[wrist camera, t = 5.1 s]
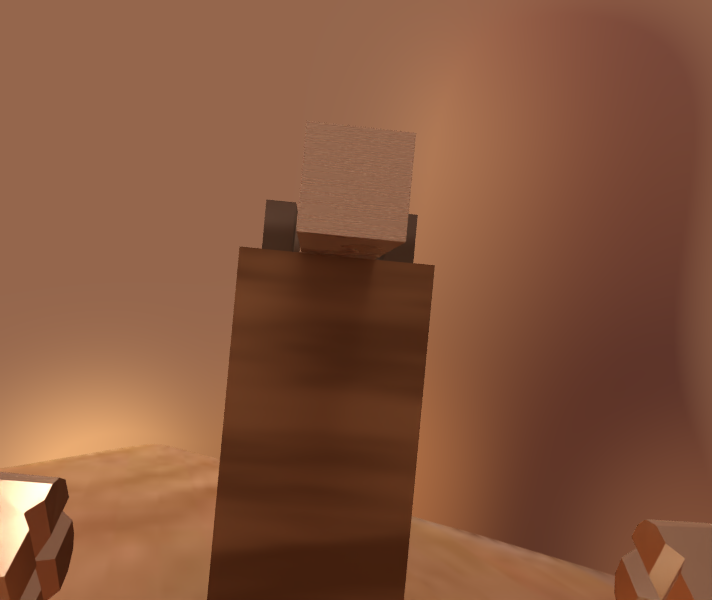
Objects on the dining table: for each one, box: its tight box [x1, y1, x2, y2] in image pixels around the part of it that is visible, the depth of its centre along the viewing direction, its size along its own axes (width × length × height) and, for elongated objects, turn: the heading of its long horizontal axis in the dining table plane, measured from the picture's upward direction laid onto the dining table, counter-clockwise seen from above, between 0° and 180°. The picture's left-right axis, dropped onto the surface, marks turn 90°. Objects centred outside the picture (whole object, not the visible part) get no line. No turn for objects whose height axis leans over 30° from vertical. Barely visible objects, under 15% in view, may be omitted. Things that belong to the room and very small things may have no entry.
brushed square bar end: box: [297, 121, 416, 260], centre depth 31 cm, size 26×3×3 cm, turn 4°
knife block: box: [207, 200, 434, 600], centre depth 33 cm, size 13×10×27 cm
